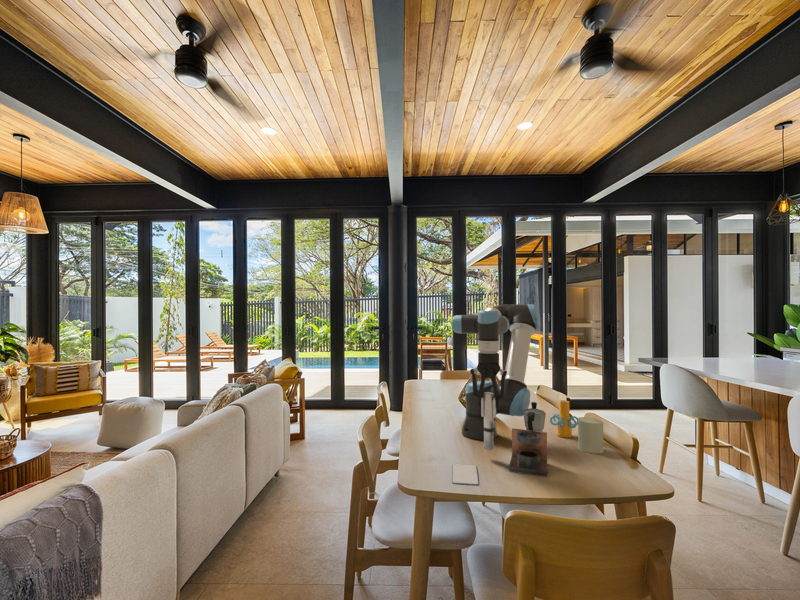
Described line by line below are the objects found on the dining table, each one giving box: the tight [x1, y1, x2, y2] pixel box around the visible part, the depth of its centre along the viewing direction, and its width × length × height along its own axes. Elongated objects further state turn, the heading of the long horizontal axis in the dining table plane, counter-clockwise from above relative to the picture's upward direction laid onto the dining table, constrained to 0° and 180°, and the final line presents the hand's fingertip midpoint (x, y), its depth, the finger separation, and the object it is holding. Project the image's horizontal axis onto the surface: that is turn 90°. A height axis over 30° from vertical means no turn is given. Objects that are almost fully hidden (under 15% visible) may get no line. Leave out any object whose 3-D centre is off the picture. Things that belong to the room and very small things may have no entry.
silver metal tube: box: [483, 392, 495, 451], centre depth 142 cm, size 4×4×20 cm
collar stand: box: [508, 428, 548, 477], centre depth 135 cm, size 12×12×11 cm
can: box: [577, 416, 605, 455], centre depth 153 cm, size 9×9×12 cm
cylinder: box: [549, 399, 579, 439], centre depth 170 cm, size 12×10×15 cm
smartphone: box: [451, 463, 480, 487], centre depth 128 cm, size 8×1×15 cm
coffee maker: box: [523, 401, 547, 432], centre depth 153 cm, size 15×9×18 cm, turn 149°
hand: (488, 416), depth 142 cm, fingers closed on silver metal tube, 3 cm apart
